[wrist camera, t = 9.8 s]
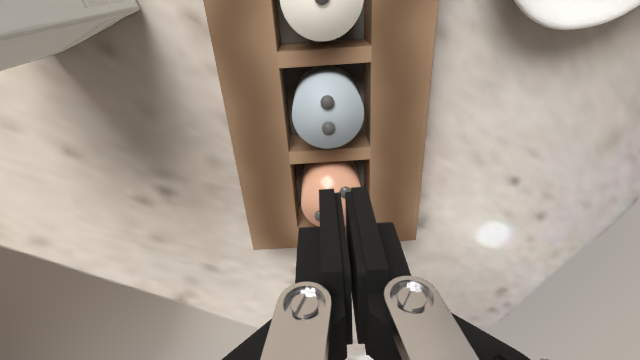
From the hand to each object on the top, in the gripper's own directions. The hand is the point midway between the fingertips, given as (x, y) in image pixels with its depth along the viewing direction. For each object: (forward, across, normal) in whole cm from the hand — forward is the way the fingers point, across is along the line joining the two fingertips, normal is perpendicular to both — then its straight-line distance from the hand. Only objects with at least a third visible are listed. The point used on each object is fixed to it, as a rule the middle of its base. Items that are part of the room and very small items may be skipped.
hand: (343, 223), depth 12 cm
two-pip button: (+17, 0, 0) cm, 17 cm away
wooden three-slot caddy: (+17, 0, 0) cm, 17 cm away
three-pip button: (+16, 0, +7) cm, 18 cm away
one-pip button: (+17, 0, -7) cm, 18 cm away
